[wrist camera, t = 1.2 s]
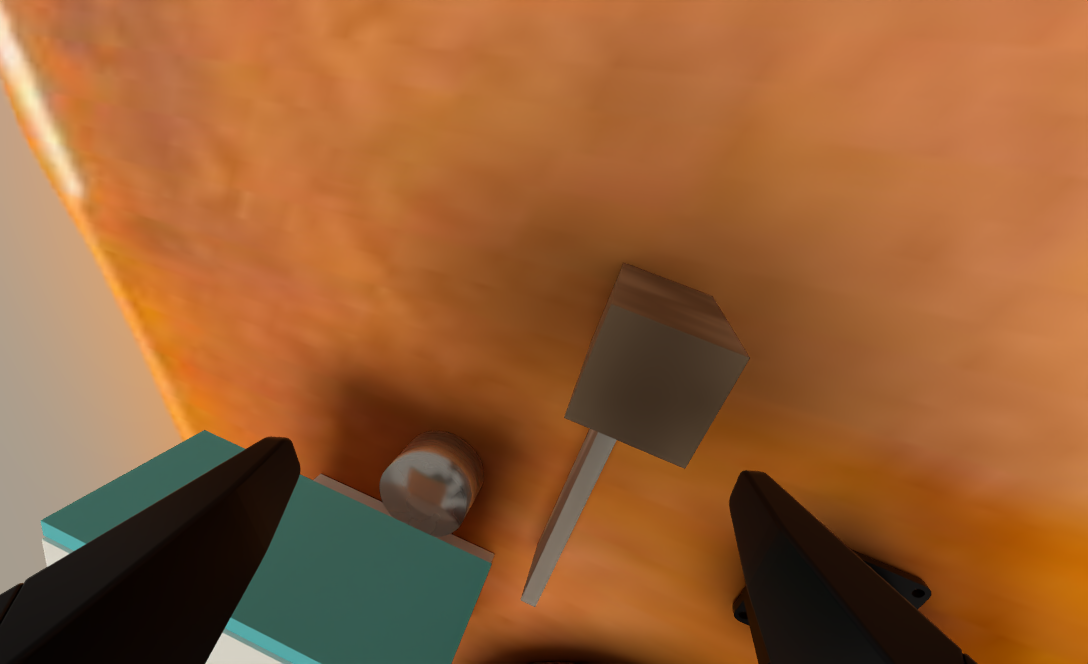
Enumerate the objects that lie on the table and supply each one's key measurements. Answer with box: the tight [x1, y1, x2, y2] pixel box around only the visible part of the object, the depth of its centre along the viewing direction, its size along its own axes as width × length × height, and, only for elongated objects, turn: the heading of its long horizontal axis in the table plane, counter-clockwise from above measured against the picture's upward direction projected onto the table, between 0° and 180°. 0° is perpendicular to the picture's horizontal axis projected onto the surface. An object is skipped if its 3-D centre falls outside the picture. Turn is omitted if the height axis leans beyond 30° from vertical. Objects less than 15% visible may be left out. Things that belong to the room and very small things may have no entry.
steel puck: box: [380, 431, 484, 537], centre depth 23 cm, size 5×5×3 cm
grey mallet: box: [521, 263, 750, 607], centre depth 18 cm, size 4×17×7 cm, turn 162°
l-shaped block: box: [41, 430, 494, 664], centre depth 20 cm, size 12×15×12 cm
